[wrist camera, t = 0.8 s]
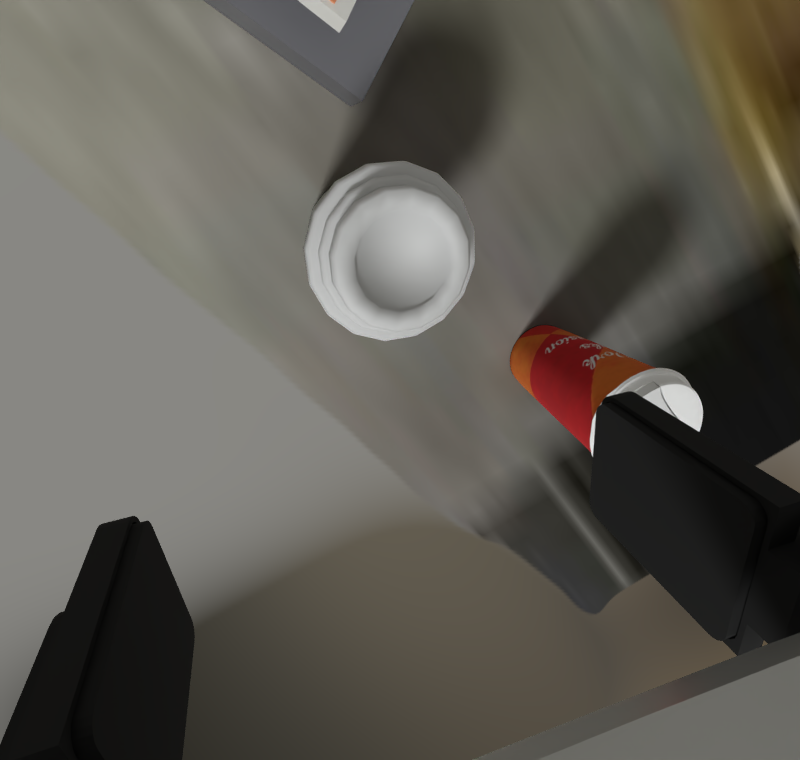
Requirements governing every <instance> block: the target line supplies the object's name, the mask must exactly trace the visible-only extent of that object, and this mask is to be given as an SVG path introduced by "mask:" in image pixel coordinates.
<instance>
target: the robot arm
mask: <svg viewBox="0 0 800 760" xmlns="http://www.w3.org/2000/svg"><path fill="white" fill-rule="evenodd" d="M590 506H591V509H592V512H593V514H594V515H595V517H596V518H597V519H598V520H599V521H600V522H601V523H602V524H603V525H604V526H605V527H606V528H607V529H608V530H609V531H610V532H611V533H612V534H613V535H614V536H615V538H616V539H617V540H618V541H619V542H620V543H621V544H622V545H623V546H624V547H625V548H626V549H627V550H628V551H629V552H630V553H631V554H632V555H633V556H634V557H635V558H636V559H637V560H638V561H639V562H640V563H641V564H642V565H643V566H644V568H645V569H646V570H647V571H648V572H649V573H650V574H651V575H652V576H653V577H654V578H655V579H656V580H657V581H658V582H659V583H660V584H661V585H662V586H663V587H664V588H665V589H666V590H667V591H668V592H669V593H670V594H671V595H672V596H673V597H674V599H675V600H676V601H678V603H679V604H680V605H681V606H682V607H683V608H684V609H685V610H686V611H687V612H688V613H689V614H690V615H691V616H692V617H693V618H694V619H695V620H696V621H697V622H698V623H699V624H700V625H701V626H702V628H703V629H704V630H705V631H706V632H707V633H708V634H710V635H711V636H712V637H713V638H715V639H716V640H720V641H723V642H724V643H725V644H726V645H727V646H728V647H729V648H730V649H731V650H732V651H733V652H734V653H735V654H736V655H737V656H736V657H734V658H731V659H729V660H726V661H723V662H721V663H718V664H716V665H713V666H711V667H708V668H705V669H703V670H700V671H697V672H695V673H692V674H690V675H687V676H685V677H682V678H680V679H677V680H674V681H672V682H669V683H666V684H664V685H662V686H659V687H656V688H654V689H651V690H648V691H646V692H643V693H641V694H638V695H636V696H633V697H631V698H628V699H625V700H623V701H620V702H618V703H615V704H613V705H610V706H608V707H605V708H603V709H600V710H598V711H595V712H592V713H590V714H587V715H585V716H582V717H580V718H577V719H575V720H572V721H569V722H567V723H564V724H562V725H559V726H557V727H554V728H552V729H549V730H547V731H544V732H542V733H539V734H537V735H534V736H532V737H529V738H526V739H524V740H521V741H519V742H516V743H514V744H511V745H509V746H506V747H504V748H501V749H498V750H496V751H494V752H491V753H488V754H486V755H483V756H481V757H478V758H476V759H473V760H800V493H798V492H797V491H795V490H793V489H792V488H790V487H789V486H787V485H785V484H783V483H782V482H780V481H779V480H777V479H775V478H774V477H772V476H770V475H769V474H767V473H766V472H764V471H762V470H761V469H759V468H757V467H756V466H754V465H753V464H751V463H749V462H748V461H746V460H744V459H743V458H741V457H739V456H738V455H736V454H735V453H733V452H731V451H730V450H728V449H726V448H725V447H723V446H721V445H720V444H718V443H717V442H715V441H713V440H712V439H710V438H708V437H707V436H705V435H704V434H702V433H700V432H699V431H697V430H695V429H694V428H692V427H690V426H689V425H687V424H686V423H684V422H682V421H681V420H679V419H677V418H676V417H674V416H672V415H671V414H669V413H668V412H666V411H664V410H663V409H661V408H659V407H658V406H656V405H654V404H653V403H651V402H650V401H648V400H646V399H645V398H643V397H641V396H640V395H638V394H636V393H634V392H632V391H627V392H623V393H619V394H615V395H611V396H607V397H605V398H604V399H603V401H602V403H601V405H600V406H598V408H597V410H596V421H595V434H594V448H593V462H592V476H591V490H590ZM194 638H195V637H194V626H193V622H192V619H191V617H190V614H189V612H188V609H187V607H186V605H185V602H184V600H183V598H182V595H181V593H180V591H179V588H178V586H177V583H176V581H175V579H174V576H173V574H172V572H171V569H170V567H169V565H168V562H167V560H166V558H165V555H164V553H163V550H162V548H161V546H160V543H159V541H158V539H157V536H156V534H155V532H154V529H153V527H152V525H151V523H150V522H149V521H144V522H140V521H139V519H138V518H137V517H135V516H131V517H127V518H123V519H119V520H116V521H112V522H108V523H104V524H101V525H99V527H98V528H97V530H96V532H95V535H94V538H93V540H92V543H91V545H90V548H89V550H88V553H87V555H86V558H85V560H84V563H83V565H82V568H81V571H80V573H79V576H78V578H77V581H76V583H75V586H74V588H73V591H72V593H71V596H70V598H69V601H68V603H67V606H66V609H65V611H64V612H61V613H59V614H58V615H57V616H55V617H54V619H53V620H52V623H51V624H50V626H49V628H48V631H47V633H46V635H45V638H44V640H43V643H42V645H41V647H40V650H39V652H38V655H37V657H36V660H35V662H34V664H33V667H32V669H31V672H30V674H29V677H28V679H27V681H26V684H25V686H24V688H23V691H22V693H21V696H20V698H19V700H18V703H17V705H16V708H15V710H14V713H13V715H12V717H11V720H10V722H9V725H8V727H7V729H6V732H5V734H4V737H3V739H2V742H1V744H0V760H182V755H183V745H184V736H185V727H186V716H187V707H188V698H189V688H190V678H191V669H192V658H193V650H194ZM764 640H765V641H766V642H767V643H768V644H767V645H765V646H762V644H763V641H764ZM759 647H760V648H759Z"/></svg>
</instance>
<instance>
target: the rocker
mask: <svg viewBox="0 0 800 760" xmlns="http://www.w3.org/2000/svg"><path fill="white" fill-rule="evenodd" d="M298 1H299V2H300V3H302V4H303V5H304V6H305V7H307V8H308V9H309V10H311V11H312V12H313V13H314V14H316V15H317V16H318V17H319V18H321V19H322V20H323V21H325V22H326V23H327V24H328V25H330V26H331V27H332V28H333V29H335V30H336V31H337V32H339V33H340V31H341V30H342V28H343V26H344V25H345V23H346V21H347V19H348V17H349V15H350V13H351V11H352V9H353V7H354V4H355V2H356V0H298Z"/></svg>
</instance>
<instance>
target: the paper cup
mask: <svg viewBox="0 0 800 760" xmlns="http://www.w3.org/2000/svg"><path fill="white" fill-rule="evenodd" d="M510 367H511V371H512V373H513V375H514V376H515V378H516V379H517V380H518V381H519V382H520V384H521V385H522V386H523V387H524V388H525V389H526V390H527V391H528V392H529V393H530V394H531V395H532V396H533V397H534V398H535V399H536V400H537V401H539V402H540V403H541V404H542V405H543V406H544V407H545V408H546V409H547V410H548V411H549V412H550V413H551V414H552V415H553V416H554V417H555V418H556V419H557V420H558V421H559V422H560V423H561V424H562V425H563V426H564V427H565V428H566V429H568V430H569V431H570V432H571V433H572V434H573V435H574V436H575V437H576V438H577V439H578V440H579V441H580V442H581V443H582V444H583V445H584V446H585V447H586V448H587V449H588V450H589V451H590V452H591V454H592V456H593V448H594V434H595V421H596V410H597V408H598V406H600V405H601V403H602V401H603V399H604V398H605V397H607V396H611V395H615V394H619V393H623V392H627V391H632V392H634V393H636V394H638V395H640V396H641V397H643V398H645V399H646V400H648V401H650V402H651V403H653V404H654V405H656V406H658V407H659V408H661V409H663V410H664V411H666V412H668V413H669V414H671V415H672V416H674V417H676V418H677V419H679V420H681V421H682V422H684V423H686V424H687V425H689V426H690V427H692V428H694V429H695V430H697V431H700V428H701V424H702V418H703V408H702V404H701V400H700V398H699V396H698V394H697V393H696V392H695V391H694V389H693V388H691V386H690V384H689V382H688V381H687V379H686V378H685V377H684V376H683V375H681V374H680V373H678V372H676V371H674V370H671V369H667V368H654V367H652V366H649V365H647V364H645V363H642V362H640V361H637V360H635V359H633V358H630V357H628V356H626V355H623V354H621V353H618V352H616V351H614V350H611V349H609V348H607V347H604V346H602V345H599V344H597V343H595V342H592V341H590V340H587V339H585V338H582V337H580V336H578V335H575V334H573V333H570V332H568V331H565V330H562V329H560V328H557V327H554V326H550V325H540V326H536V327H533V328H531V329H529V330H528V331H526V332H525V333H524V334H523V335H522V336H521V337H520V338H519V339H518V340H517V342H516V343H515V345H514V347H513V349H512V352H511V356H510Z"/></svg>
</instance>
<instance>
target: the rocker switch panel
mask: <svg viewBox="0 0 800 760" xmlns="http://www.w3.org/2000/svg"><path fill="white" fill-rule="evenodd" d="M204 1H205V2H206V3H208V4H209V5H211V6H212V7H213V8H215V9H216V10H218V11H219V12H220V13H222V14H223V15H225V16H226V17H227V18H229V19H230V20H231V21H233V22H234V23H236V24H237V25H238V26H240V27H241V28H243V29H244V30H245V31H247V32H248V33H249V34H251V35H252V36H254V37H255V38H256V39H258V40H259V41H261V42H262V43H263V44H265V45H266V46H267V47H269V48H270V49H272V50H273V51H274V52H276V53H277V54H279V55H280V56H281V57H283V58H284V59H285V60H287V61H288V62H290V63H291V64H292V65H294V66H295V67H297V68H298V69H299V70H301V71H302V72H304V73H305V74H306V75H308V76H309V77H310V78H312V79H313V80H315V81H316V82H317V83H319V84H320V85H322V86H323V87H324V88H326V89H327V90H328V91H330V92H331V93H333V94H334V95H335V96H337V97H338V98H340V99H341V100H342V101H344V102H345V103H346V104H348V105H349V106H353V105H355V104H357V103H359V102H361V101H363V99H364V97H365V95H366V93H367V91H368V89H369V88H370V86H371V84H372V82H373V80H374V78H375V76H376V74H377V72H378V70H379V68H380V66H381V64H382V62H383V60H384V58H385V56H386V54H387V52H388V50H389V49H390V47H391V45H392V43H393V41H394V39H395V37H396V35H397V33H398V31H399V29H400V27H401V25H402V23H403V21H404V19H405V17H406V15H407V13H408V11H409V10H410V8H411V6H412V4H413V2H414V0H356V2H355V4H354V7H353V9H352V11H351V13H350V15H349V17H348V19H347V21H346V23H345V25H344V26H343V28H342V30H341V31H340V33H339V32H337V31H336V30H335V29H333V28H332V27H331V26H330V25H328V24H327V23H326V22H325V21H323V20H322V19H321V18H319V17H318V16H317V15H316V14H314V13H313V12H312V11H311V10H309V9H308V8H307V7H305V6H304V5H303V4H302V3H300V2H299V1H298V0H204Z"/></svg>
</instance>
